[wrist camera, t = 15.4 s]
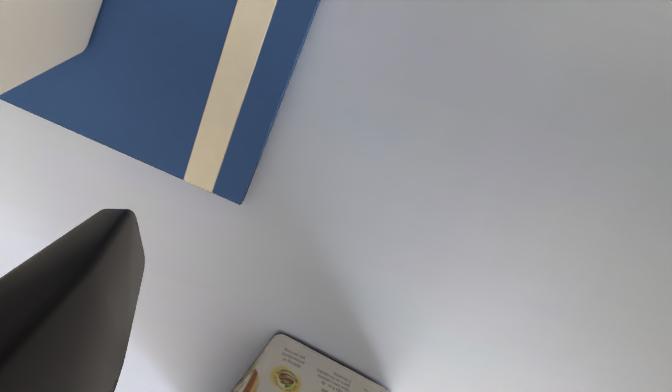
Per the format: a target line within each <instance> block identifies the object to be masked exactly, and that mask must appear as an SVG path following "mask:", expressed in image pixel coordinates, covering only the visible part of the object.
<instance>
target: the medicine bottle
mask: <svg viewBox="0 0 672 392" xmlns="http://www.w3.org/2000/svg"><path fill="white" fill-rule="evenodd" d="M102 2H103V0H0V95H1V94H3V93H5V92H7V91H9V90H11V89H12V88H14V87H16V86H18V85H20V84H22V83H24V82H26V81H28V80H30V79H32V78H34V77H35V76H37V75H39V74H41V73H43V72H45V71H47V70H49V69H51V68H53V67H55V66H57V65H58V64H60V63H62V62H64V61H66V60H68V59H70V58H72V57H74V56H76V55H78V54H80V53H81V52H83V51H84V50H85V48H86V47H87V45H88V42H89V39H90V36H91V34H92V31H93V28H94V25H95V22H96V19H97V16H98V13H99V10H100V7H101V4H102Z"/></svg>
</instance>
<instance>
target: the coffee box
mask: <svg viewBox="0 0 672 392" xmlns="http://www.w3.org/2000/svg"><path fill="white" fill-rule="evenodd" d="M232 392H390V391H389V390H387V389H386V388H384V387H382V386H380V385H378V384H376V383H374V382H372V381H371V380H369V379H367V378H365V377H363V376H361V375H359V374H358V373H356V372H354V371H352V370H350V369H348V368H346V367H344V366H342V365H340V364H339V363H337V362H335V361H333V360H331V359H329V358H327V357H325V356H324V355H322V354H320V353H318V352H316V351H314V350H312V349H310V348H308V347H307V346H305V345H303V344H301V343H299V342H297V341H296V340H294V339H292V338H290V337H288V336H286V335H283V334H278V335H275V336H274V337H273V339H272V340H271V341H270V342H269V344H268V345H267V346H266V348H265V349H264V350H263V352H262V353H261V354H260V355H259V357H258V358H257V359H256V361H255V362H254V363H253V365H252V366H251V367H250V369H249V370H248V371H247V373H246V374H245V375H244V377H243V378H242V379H241V380H240V382H239V383H238V384H237V386H236V387H235V388H234V390H233V391H232Z"/></svg>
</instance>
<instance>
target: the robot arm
mask: <svg viewBox="0 0 672 392" xmlns="http://www.w3.org/2000/svg"><path fill="white" fill-rule="evenodd" d="M144 265H145V256H144V250H143V245H142V241H141V236H140V232H139V227H138V222H137V218H136V216H135V214H134V212H132V211H131V210H129V209H103V210H101V211H99V212H97V213H96V214H94V215H93V216H91V217H90V218H89V219H87V220H86V221H84V222H83V223H81V224H80V225H78V226H77V227H75V228H74V229H72V230H71V231H69V232H68V233H66V234H65V235H63V236H62V237H60V238H59V239H57V240H56V241H54V242H53V243H52V244H50V245H49V246H47V247H46V248H44V249H43V250H41V251H40V252H38V253H37V254H35V255H34V256H32V257H31V258H29V259H28V260H26V261H25V262H23V263H22V264H20V265H19V266H17V267H16V268H14V269H13V270H12V271H10V272H9V273H7V274H6V275H4V276H3V277H1V278H0V392H114V390H115V388H116V385H117V382H118V379H119V376H120V372H121V369H122V366H123V363H124V359H125V354H126V350H127V346H128V341H129V337H130V332H131V327H132V323H133V318H134V314H135V309H136V304H137V300H138V295H139V291H140V286H141V281H142V277H143V272H144Z"/></svg>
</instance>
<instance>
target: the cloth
mask: <svg viewBox="0 0 672 392" xmlns="http://www.w3.org/2000/svg"><path fill="white" fill-rule="evenodd" d="M319 2H320V0H103V2H102V4H101V7H100V10H99V13H98V16H97V19H96V22H95V25H94V28H93V31H92V34H91V36H90V39H89V42H88V45H87V47H86V48H85V50H84V51H83V52H81V53H80V54H78V55H76V56H74V57H72V58H70V59H68V60H66V61H64V62H62V63H60V64H58V65H57V66H55V67H53V68H51V69H49V70H47V71H45V72H43V73H41V74H39V75H37V76H35V77H34V78H32V79H30V80H28V81H26V82H24V83H22V84H20V85H18V86H16V87H14V88H12V89H11V90H9V91H7V92H5V93H3V94H1V95H0V99H1V100H4V101H6V102H8V103H10V104H13V105H15V106H17V107H20V108H22V109H24V110H26V111H29V112H31V113H33V114H35V115H38V116H40V117H42V118H44V119H47V120H49V121H51V122H54V123H56V124H58V125H60V126H63V127H65V128H67V129H69V130H72V131H74V132H76V133H78V134H81V135H83V136H85V137H87V138H90V139H92V140H94V141H97V142H99V143H101V144H103V145H106V146H108V147H110V148H112V149H115V150H117V151H119V152H121V153H124V154H126V155H128V156H131V157H133V158H135V159H137V160H140V161H142V162H144V163H146V164H149V165H151V166H153V167H155V168H158V169H160V170H162V171H165V172H167V173H169V174H171V175H174V176H176V177H178V178H180V179H183V180H184V181H186V182H188V183H190V184H193V185H195V186H197V187H199V188H202V189H204V190H206V191H208V192H212V193H214V194H217V195H219V196H221V197H223V198H226V199H228V200H230V201H233V202H235V203H237V204H239V205H241V204H242V202H243V201H244V198H245V196H246V193H247V190H248V188H249V185H250V182H251V180H252V177H253V175H254V172H255V169H256V167H257V164H258V162H259V159H260V156H261V154H262V151H263V148H264V146H265V143H266V141H267V138H268V135H269V133H270V130H271V127H272V125H273V122H274V120H275V117H276V114H277V112H278V109H279V107H280V104H281V101H282V99H283V96H284V93H285V91H286V88H287V86H288V83H289V80H290V78H291V75H292V72H293V70H294V67H295V65H296V62H297V59H298V57H299V54H300V51H301V49H302V46H303V44H304V41H305V38H306V36H307V33H308V31H309V28H310V25H311V23H312V20H313V17H314V15H315V12H316V10H317V7H318V4H319Z"/></svg>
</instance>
